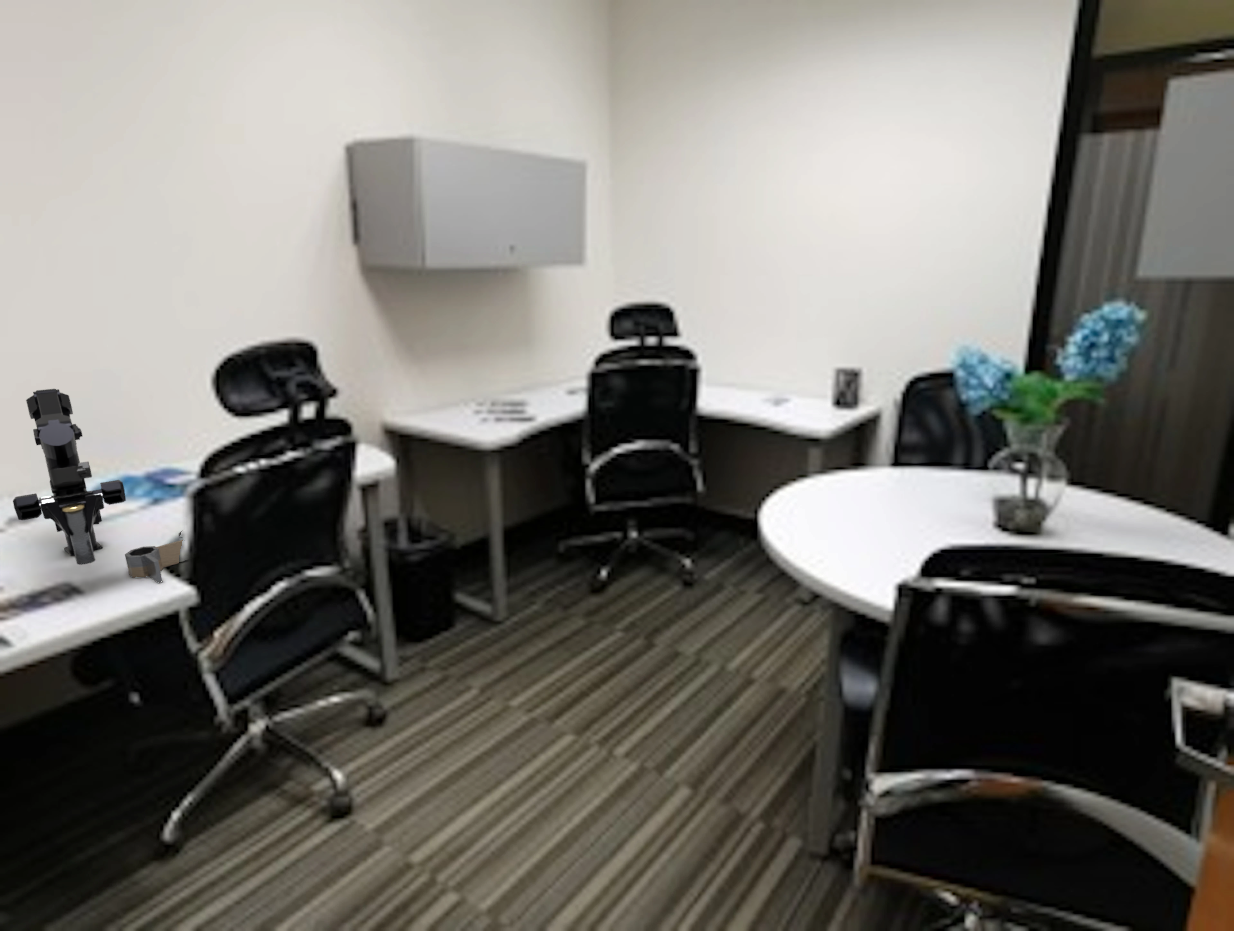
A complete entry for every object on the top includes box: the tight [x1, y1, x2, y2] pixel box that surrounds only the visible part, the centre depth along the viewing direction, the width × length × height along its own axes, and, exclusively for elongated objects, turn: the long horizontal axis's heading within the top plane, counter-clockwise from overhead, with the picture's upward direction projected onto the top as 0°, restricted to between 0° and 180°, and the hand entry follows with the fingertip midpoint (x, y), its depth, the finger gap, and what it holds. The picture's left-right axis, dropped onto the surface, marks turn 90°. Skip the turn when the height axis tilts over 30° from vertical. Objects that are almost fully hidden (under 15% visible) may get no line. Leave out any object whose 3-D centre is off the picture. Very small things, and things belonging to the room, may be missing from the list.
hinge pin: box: [62, 503, 96, 565], centre depth 153 cm, size 4×4×12 cm
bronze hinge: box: [124, 539, 184, 583], centre depth 165 cm, size 12×12×5 cm
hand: (79, 534), depth 152 cm, fingers closed on hinge pin, 3 cm apart
